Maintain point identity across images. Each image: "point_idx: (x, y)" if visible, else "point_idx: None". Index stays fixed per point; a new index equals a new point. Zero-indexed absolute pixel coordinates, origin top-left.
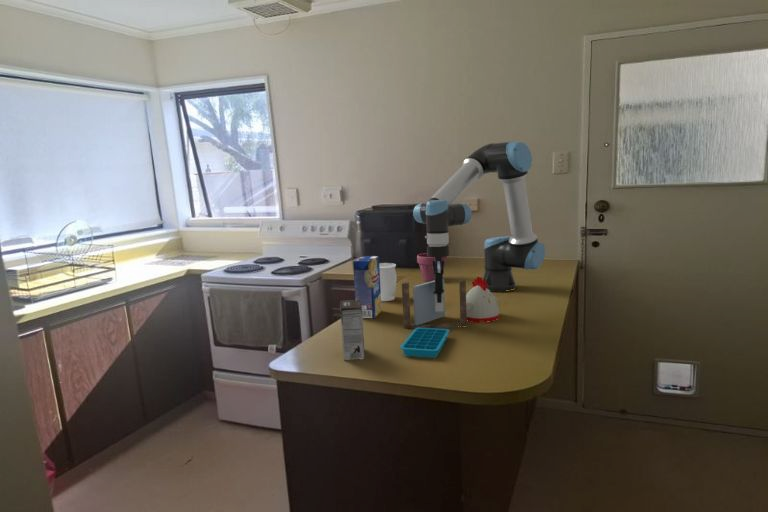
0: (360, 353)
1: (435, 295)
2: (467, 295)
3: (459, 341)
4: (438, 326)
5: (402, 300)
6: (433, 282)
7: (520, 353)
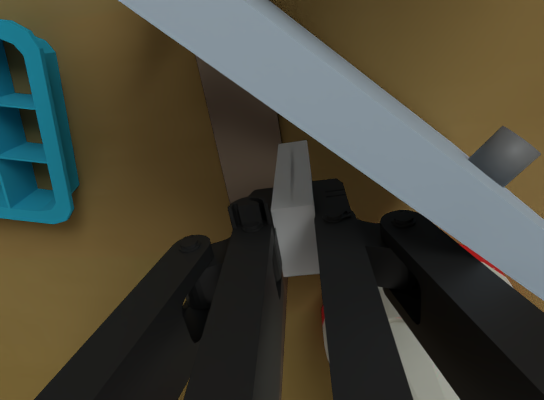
0: None
1: (272, 202)
2: (438, 375)
3: (53, 242)
4: (233, 139)
5: None
6: (460, 237)
7: (21, 393)
